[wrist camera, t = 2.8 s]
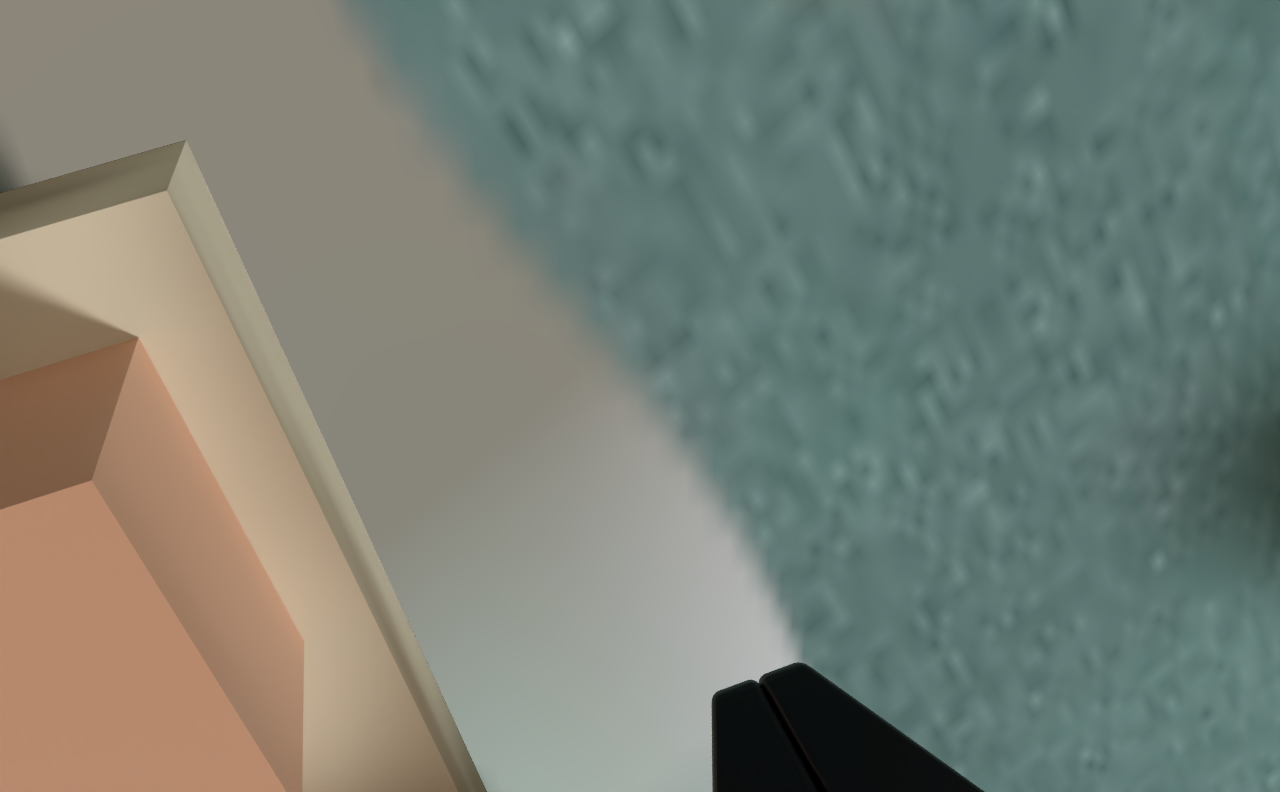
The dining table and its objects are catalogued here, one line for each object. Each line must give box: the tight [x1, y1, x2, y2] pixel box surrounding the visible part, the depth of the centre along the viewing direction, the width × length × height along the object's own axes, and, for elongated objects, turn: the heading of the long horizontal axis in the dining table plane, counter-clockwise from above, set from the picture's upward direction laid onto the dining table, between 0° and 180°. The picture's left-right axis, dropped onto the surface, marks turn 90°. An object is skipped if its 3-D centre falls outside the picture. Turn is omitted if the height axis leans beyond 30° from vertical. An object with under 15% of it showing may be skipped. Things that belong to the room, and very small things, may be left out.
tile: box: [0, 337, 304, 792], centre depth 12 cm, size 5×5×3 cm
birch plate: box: [0, 140, 487, 792], centre depth 16 cm, size 10×15×2 cm, turn 12°
